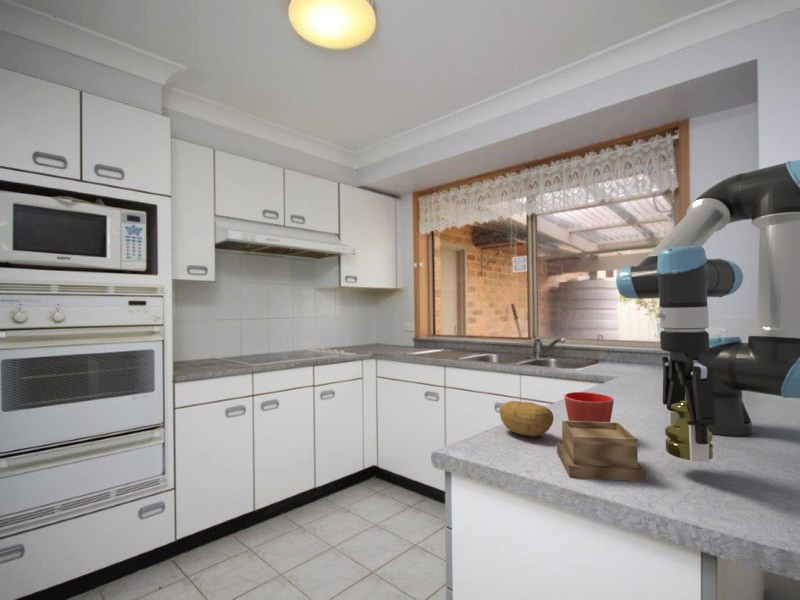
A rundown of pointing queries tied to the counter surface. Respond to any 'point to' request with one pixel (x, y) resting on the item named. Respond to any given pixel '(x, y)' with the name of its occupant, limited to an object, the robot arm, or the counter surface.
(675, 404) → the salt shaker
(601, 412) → the flower pot
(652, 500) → the counter surface
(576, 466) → the brown wooden square box
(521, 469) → the counter surface
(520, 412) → the potato
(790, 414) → the counter surface
